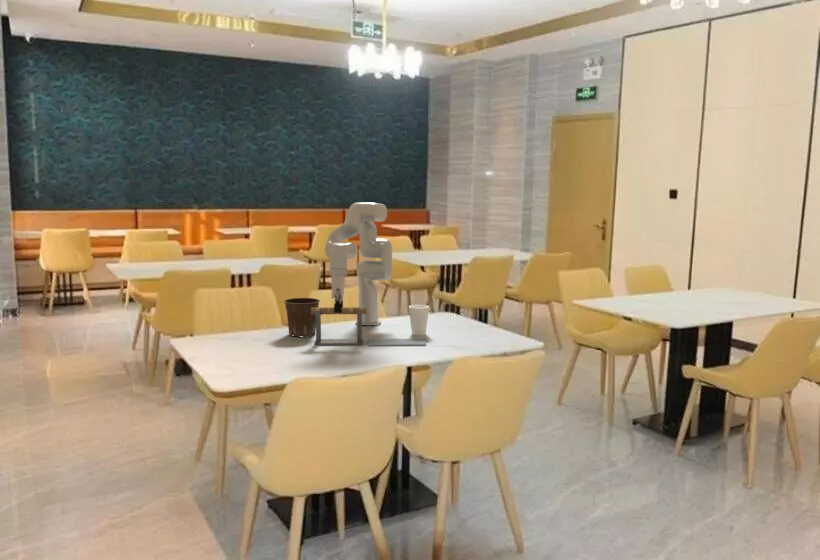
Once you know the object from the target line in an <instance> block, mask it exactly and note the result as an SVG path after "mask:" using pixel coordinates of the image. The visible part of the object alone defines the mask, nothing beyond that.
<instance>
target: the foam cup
mask: <svg viewBox="0 0 820 560" xmlns="http://www.w3.org/2000/svg"><path fill="white" fill-rule="evenodd" d="M408 313H409V320H410V327H411V334H412V336H425V335H426V333H427V326H428V320H429V313H430V306H429V305H425V304H413V305H412V304H411V305H408Z"/></svg>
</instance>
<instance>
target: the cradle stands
mask: <svg viewBox="0 0 820 560" xmlns="http://www.w3.org/2000/svg"><path fill="white" fill-rule="evenodd" d="M315 318H316V331H315V340H314V345H317V346H364V338H363V326H362V311H357V314H356V321H357V324H356V327H357V328H356V330H357V331H356V334H357V335H356V336H357V338H322V314H320V311H315Z"/></svg>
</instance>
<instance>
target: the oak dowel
mask: <svg viewBox="0 0 820 560" xmlns="http://www.w3.org/2000/svg"><path fill="white" fill-rule="evenodd" d="M315 311H320V314H321V315H357V311H362V314H366V307H359V306H358V307H357V306H356V307H355V306H353V307H346V306H345V307H344V306H343V307H342V313H334V306H333V307H331V306H330V307H329V306H327V307H318V308H311V314H315Z"/></svg>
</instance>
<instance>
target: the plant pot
mask: <svg viewBox="0 0 820 560" xmlns="http://www.w3.org/2000/svg"><path fill="white" fill-rule="evenodd" d="M320 301H321V300H320V299H318V298H312V297H295V298H294V297H293V298H288V299H284V305H285V311H286V316H287V317H286V318H287V327H288V335H289V334H291V335H294V336H293V337H297V336H308V337H312V336H314V335H313V334H315V335H316V318H315V314H311V308H319V303H320ZM311 335H312V336H311Z"/></svg>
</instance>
